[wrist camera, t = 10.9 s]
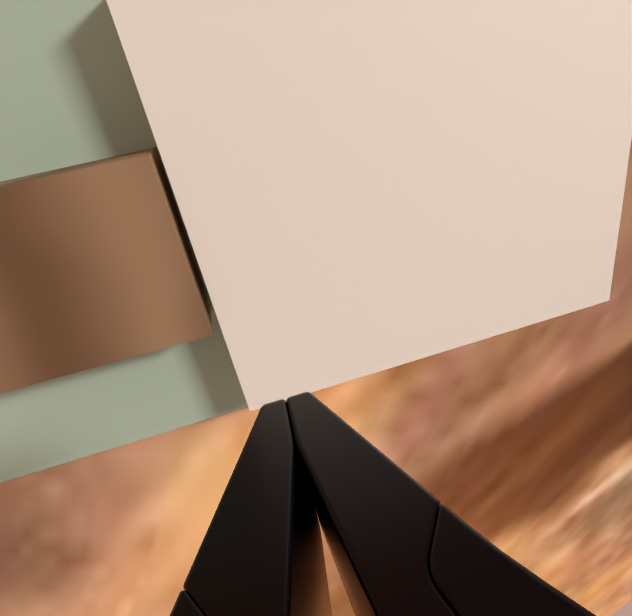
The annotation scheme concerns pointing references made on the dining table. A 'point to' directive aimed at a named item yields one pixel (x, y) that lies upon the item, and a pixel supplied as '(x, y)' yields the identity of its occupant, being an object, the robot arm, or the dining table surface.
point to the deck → (386, 169)
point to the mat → (72, 149)
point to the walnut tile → (93, 269)
